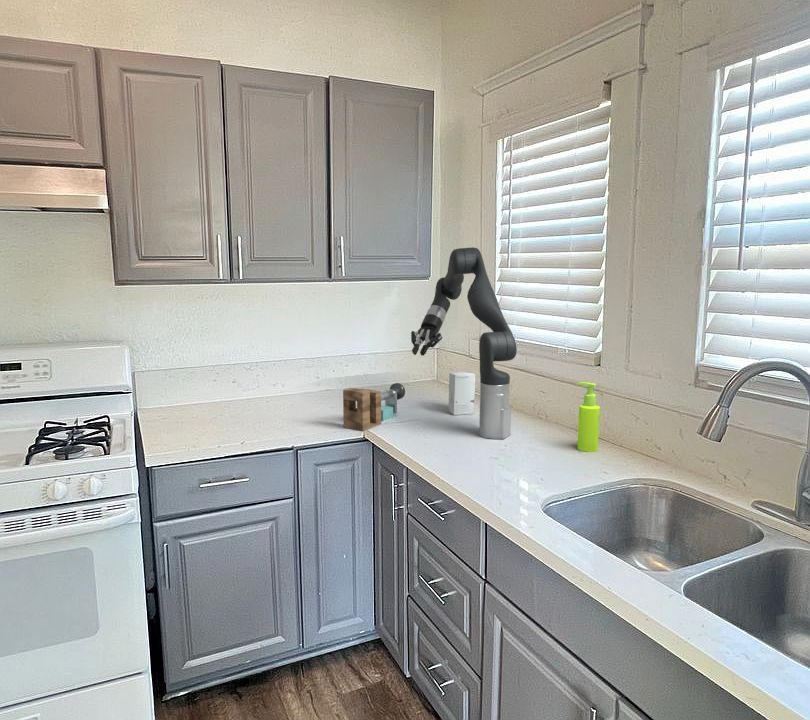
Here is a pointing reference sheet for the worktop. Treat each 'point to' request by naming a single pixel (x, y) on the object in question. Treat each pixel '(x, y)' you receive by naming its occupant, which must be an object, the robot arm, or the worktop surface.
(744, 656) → the worktop surface
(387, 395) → the shaft
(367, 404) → the bearing stand
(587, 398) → the soap dispenser
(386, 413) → the block
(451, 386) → the skincare box
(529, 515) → the worktop surface
